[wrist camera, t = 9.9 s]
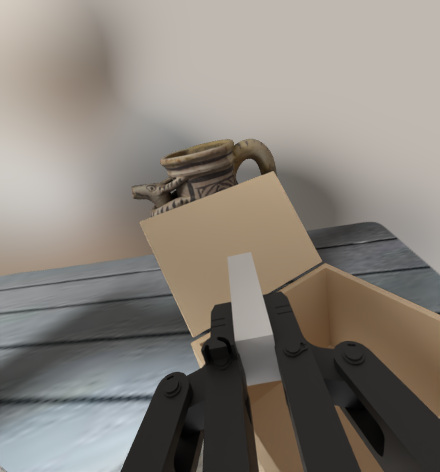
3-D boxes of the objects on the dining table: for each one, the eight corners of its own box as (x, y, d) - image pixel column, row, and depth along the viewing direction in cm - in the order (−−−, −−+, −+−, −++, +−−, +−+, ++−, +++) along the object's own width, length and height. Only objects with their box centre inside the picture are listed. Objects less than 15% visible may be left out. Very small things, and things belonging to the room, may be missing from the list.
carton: (337, 643, 15) (327, 579, 10) (222, 424, 26) (190, 343, 21) (476, 453, 20) (516, 349, 15) (330, 342, 32) (325, 263, 27)
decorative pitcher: (271, 250, 55) (251, 128, 45) (315, 299, 39) (300, 128, 29) (174, 280, 53) (130, 160, 43) (179, 345, 37) (110, 179, 27)
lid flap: (139, 221, 22) (139, 223, 23) (193, 337, 21) (192, 336, 22) (273, 170, 28) (271, 173, 28) (322, 261, 27) (318, 262, 27)
